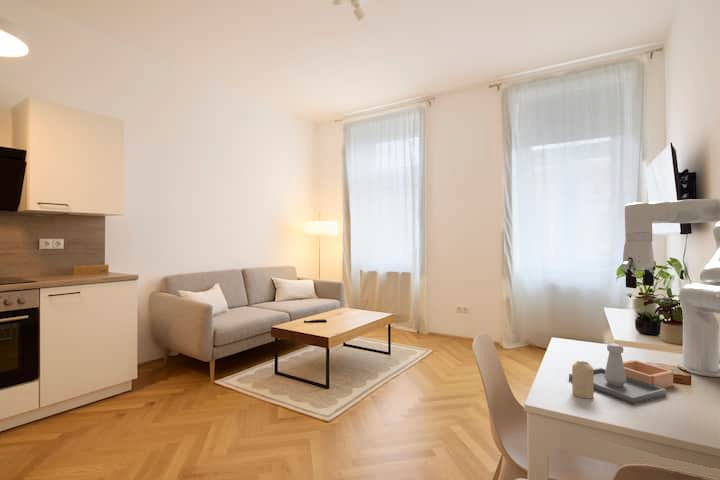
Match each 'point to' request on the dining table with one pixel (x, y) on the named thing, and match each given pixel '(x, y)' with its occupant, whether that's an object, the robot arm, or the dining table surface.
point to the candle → (583, 380)
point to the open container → (648, 373)
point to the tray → (626, 389)
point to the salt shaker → (615, 366)
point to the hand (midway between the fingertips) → (639, 286)
